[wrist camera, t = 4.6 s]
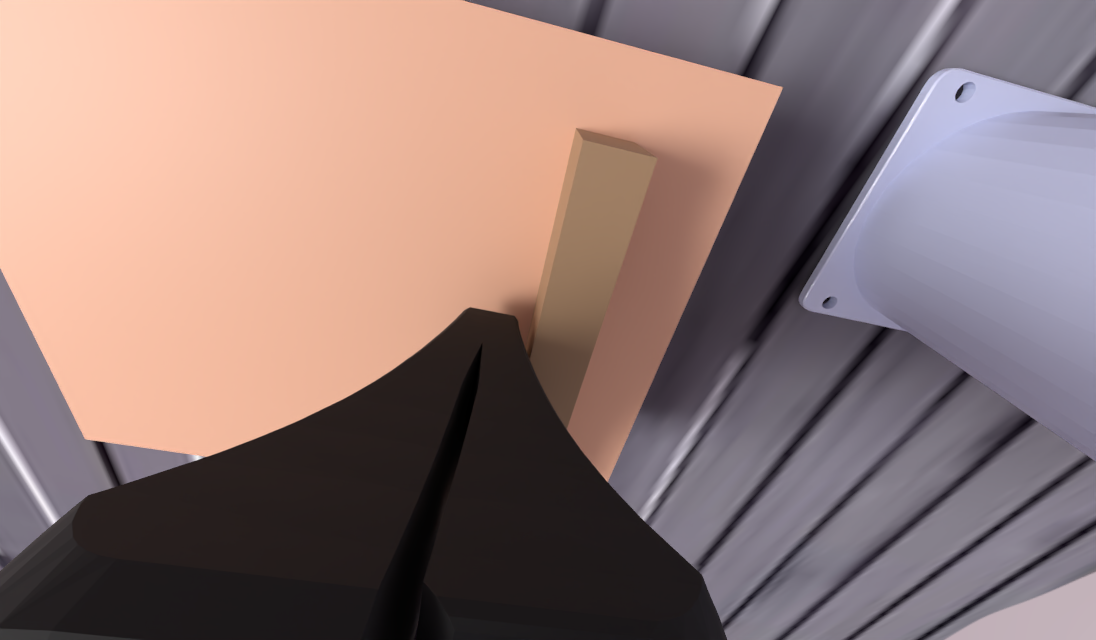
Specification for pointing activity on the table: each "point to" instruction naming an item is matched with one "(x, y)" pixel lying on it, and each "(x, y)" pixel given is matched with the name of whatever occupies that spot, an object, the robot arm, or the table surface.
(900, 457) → the table surface
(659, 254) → the sliding lid
